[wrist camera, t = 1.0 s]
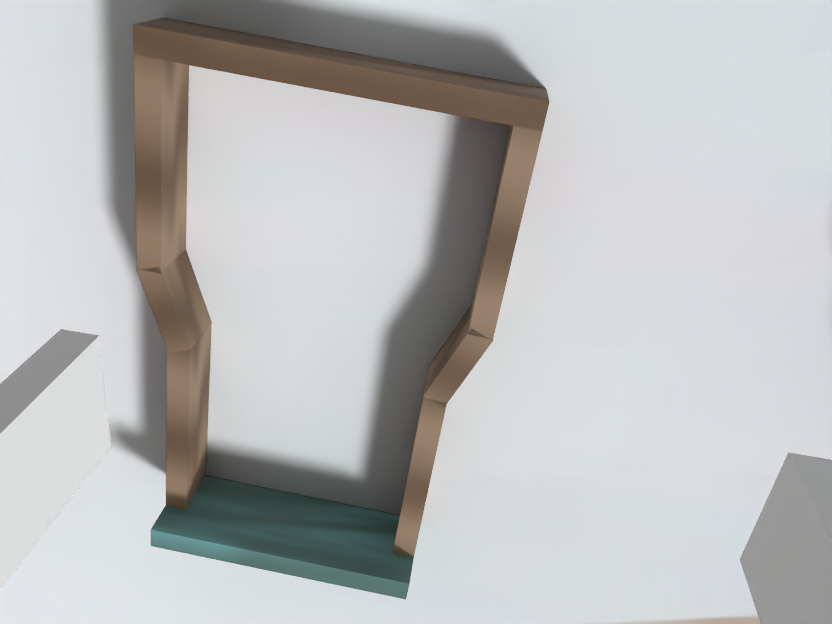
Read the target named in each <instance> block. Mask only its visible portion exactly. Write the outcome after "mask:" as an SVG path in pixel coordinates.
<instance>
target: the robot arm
mask: <svg viewBox="0 0 832 624" xmlns="http://www.w3.org/2000/svg"><path fill="white" fill-rule="evenodd" d="M110 448H111V440H110V431H109V422H108V413H107V404H106V395H105V385H104V376H103V367H102V358H101V349H100V340H99V336H98V335H92V334H86V333H80V332H74V331H68V330H62V329H61V330H60V331H59V332H58V333H56V334H55V335H54V336H53V337H52V338H51V339H50V340H49V341H48V342H46V343H45V344H44V345H43V346H42V347H41V348H40V349H39V350H38V351H36V352H35V353H34V354H33V355H32V356H31V357H30V358H29V359H28V360H26V361H25V362H24V363H23V364H22V365H21V366H20V367H19V368H18V369H16V370H15V371H14V372H13V373H12V374H11V375H10V376H9V377H8V378H6V379H5V380H4V381H3V382H2V383H1V384H0V590H1V589H2V587H3V586H4V585H5V583H6V582H7V581H8V580H9V578H10V577H11V576H12V574H13V573H14V572H15V571H16V569H17V568H18V567H19V565H20V564H21V563H22V562H23V560H24V559H25V558H26V556H27V555H28V554H29V552H30V551H31V550H32V549H33V547H34V546H35V545H36V543H37V542H38V541H39V540H40V538H41V537H42V536H43V534H44V533H45V532H46V531H47V529H48V528H49V527H50V525H51V524H52V523H53V522H54V520H55V519H56V518H57V516H58V515H59V514H60V513H61V511H62V510H63V509H64V507H65V506H66V505H67V503H68V502H69V501H70V500H71V498H72V497H73V496H74V494H75V493H76V492H77V491H78V489H79V488H80V487H81V485H82V484H83V483H84V482H85V480H86V479H87V478H88V476H89V475H90V474H91V473H92V471H93V470H94V469H95V467H96V466H97V465H98V463H99V462H100V461H101V460H102V458H103V457H104V456H105V454H106V453H107V452H108V451H109V449H110ZM740 561H741V564H742V567H743V570H744V574H745V577H746V580H747V583H748V586H749V589H750V592H751V595H752V598H753V601H754V604H755V607H756V610H757V613H758V616H759V619H760V622H761V624H832V460H829V459H823V458H817V457H811V456H805V455H800V454H794V453H788V455H787V457H786V459H785V461H784V463H783V466H782V468H781V470H780V472H779V474H778V477H777V479H776V481H775V483H774V485H773V488H772V490H771V492H770V494H769V496H768V499H767V501H766V503H765V505H764V507H763V510H762V512H761V514H760V516H759V518H758V521H757V523H756V525H755V527H754V529H753V532H752V534H751V536H750V538H749V540H748V543H747V545H746V547H745V549H744V551H743V554H742V556H741V558H740Z"/></svg>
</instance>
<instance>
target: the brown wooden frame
mask: <svg viewBox="0 0 832 624" xmlns="http://www.w3.org/2000/svg"><path fill="white" fill-rule="evenodd" d="M133 44H134V109H135V174H136V239H137V273H138V275H139V278H140V280H141V283H142V286H143V288H144V291H145V293H146V296H147V298H148V301H149V304H150V306H151V309H152V311H153V314H154V316H155V319H156V322H157V324H158V327H159V329H160V332H161V334H162V337H163V340H164V342H165V345H166V347H167V408H166V506H165V508H164V509H163V511H162V512H161V514H160V516H159V517H158V519H157V521H156V522H155V524H154V525H153V527H152V529H151V546H154V547H159V548H164V549H168V550H173V551H178V552H183V553H188V554H192V555H197V556H202V557H207V558H211V559H216V560H221V561H226V562H230V563H235V564H240V565H245V566H250V567H254V568H259V569H264V570H269V571H273V572H278V573H283V574H288V575H293V576H297V577H302V578H307V579H312V580H316V581H321V582H326V583H331V584H335V585H340V586H345V587H350V588H355V589H359V590H364V591H369V592H374V593H378V594H383V595H388V596H393V597H397V598H402V599H406V596H407V592H408V587H409V582H410V576H411V570H412V564H413V558H414V553H415V548H416V543H417V539H418V534H419V529H420V525H421V520H422V515H423V511H424V506H425V501H426V497H427V492H428V488H429V483H430V478H431V474H432V469H433V464H434V460H435V455H436V450H437V446H438V441H439V436H440V432H441V427H442V422H443V418H444V413H445V408H446V404H447V403H448V401H449V400H450V399H451V397H452V396H453V394H454V393H455V392H456V390H457V389H458V388H459V386H460V385H461V384H462V382H463V381H464V379H465V378H466V377H467V375H468V374H469V373H470V371H471V370H472V369H473V367H474V366H475V364H476V363H477V362H478V360H479V359H480V358H481V356H482V355H483V353H484V352H485V351H486V349H487V348H488V347H489V345H490V344H491V343H492V341H493V336H494V332H495V328H496V324H497V319H498V315H499V311H500V307H501V303H502V298H503V294H504V290H505V286H506V282H507V277H508V273H509V269H510V265H511V261H512V256H513V252H514V248H515V244H516V240H517V235H518V231H519V227H520V223H521V219H522V214H523V210H524V206H525V202H526V198H527V193H528V189H529V185H530V181H531V177H532V172H533V168H534V164H535V160H536V156H537V151H538V147H539V143H540V139H541V135H542V130H543V126H544V122H545V118H546V114H547V109H548V105H549V99H548V94H547V90H546V89H544V88H539V87H533V86H528V85H522V84H517V83H512V82H506V81H501V80H496V79H490V78H485V77H479V76H474V75H469V74H463V73H458V72H453V71H447V70H442V69H436V68H431V67H426V66H420V65H415V64H409V63H404V62H399V61H393V60H388V59H383V58H377V57H372V56H366V55H361V54H356V53H350V52H345V51H340V50H334V49H329V48H323V47H318V46H313V45H307V44H302V43H297V42H291V41H286V40H280V39H275V38H270V37H264V36H259V35H254V34H248V33H243V32H237V31H232V30H227V29H221V28H216V27H211V26H205V25H200V24H194V23H189V22H184V21H178V20H173V19H168V18H160V19H156V20H151V21H147V22H142V23H138V24H133ZM189 65H192V66H197V67H202V68H208V69H213V70H218V71H224V72H229V73H234V74H240V75H245V76H250V77H256V78H261V79H266V80H272V81H277V82H282V83H287V84H293V85H298V86H303V87H309V88H314V89H319V90H325V91H330V92H335V93H341V94H346V95H351V96H357V97H362V98H367V99H373V100H378V101H383V102H389V103H394V104H399V105H405V106H410V107H415V108H421V109H426V110H431V111H437V112H442V113H447V114H452V115H458V116H463V117H468V118H474V119H479V120H484V121H490V122H495V123H500V124H506V125H511V126H510V130H509V135H508V139H507V144H506V149H505V153H504V158H503V162H502V167H501V172H500V176H499V181H498V185H497V190H496V195H495V199H494V204H493V208H492V213H491V218H490V222H489V227H488V231H487V236H486V240H485V245H484V250H483V254H482V259H481V263H480V268H479V273H478V277H477V282H476V286H475V291H474V296H473V300H472V305H471V306H470V308H469V309H468V311H467V312H466V314H465V315H464V317H463V318H462V319H461V321H460V322H459V324H458V325H457V327H456V328H455V329H454V331H453V332H452V334H451V335H450V337H449V338H448V340H447V341H446V342H445V344H444V345H443V347H442V348H441V350H440V351H439V352H438V354H437V355H436V357H435V358H434V360H433V361H432V363H431V364H430V365H429V369H428V374H427V379H426V384H425V389H424V394H423V401H422V406H421V411H420V416H419V422H418V427H417V432H416V437H415V442H414V447H413V452H412V457H411V462H410V467H409V472H408V478H407V483H406V488H405V493H404V498H403V503H402V508H401V513H400V516H399V515H394V514H389V513H384V512H380V511H375V510H370V509H365V508H360V507H355V506H350V505H346V504H341V503H336V502H331V501H326V500H321V499H316V498H312V497H307V496H302V495H297V494H292V493H287V492H282V491H278V490H273V489H268V488H263V487H258V486H253V485H248V484H244V483H239V482H234V481H229V480H224V479H219V478H214V477H210V476H206V455H207V428H208V400H209V373H210V346H211V323H212V322H211V319H210V317H209V314H208V311H207V308H206V305H205V302H204V300H203V297H202V294H201V291H200V288H199V286H198V283H197V280H196V277H195V274H194V271H193V269H192V266H191V263H190V260H189V257H188V254H187V252H186V196H187V138H188V81H189Z"/></svg>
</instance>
